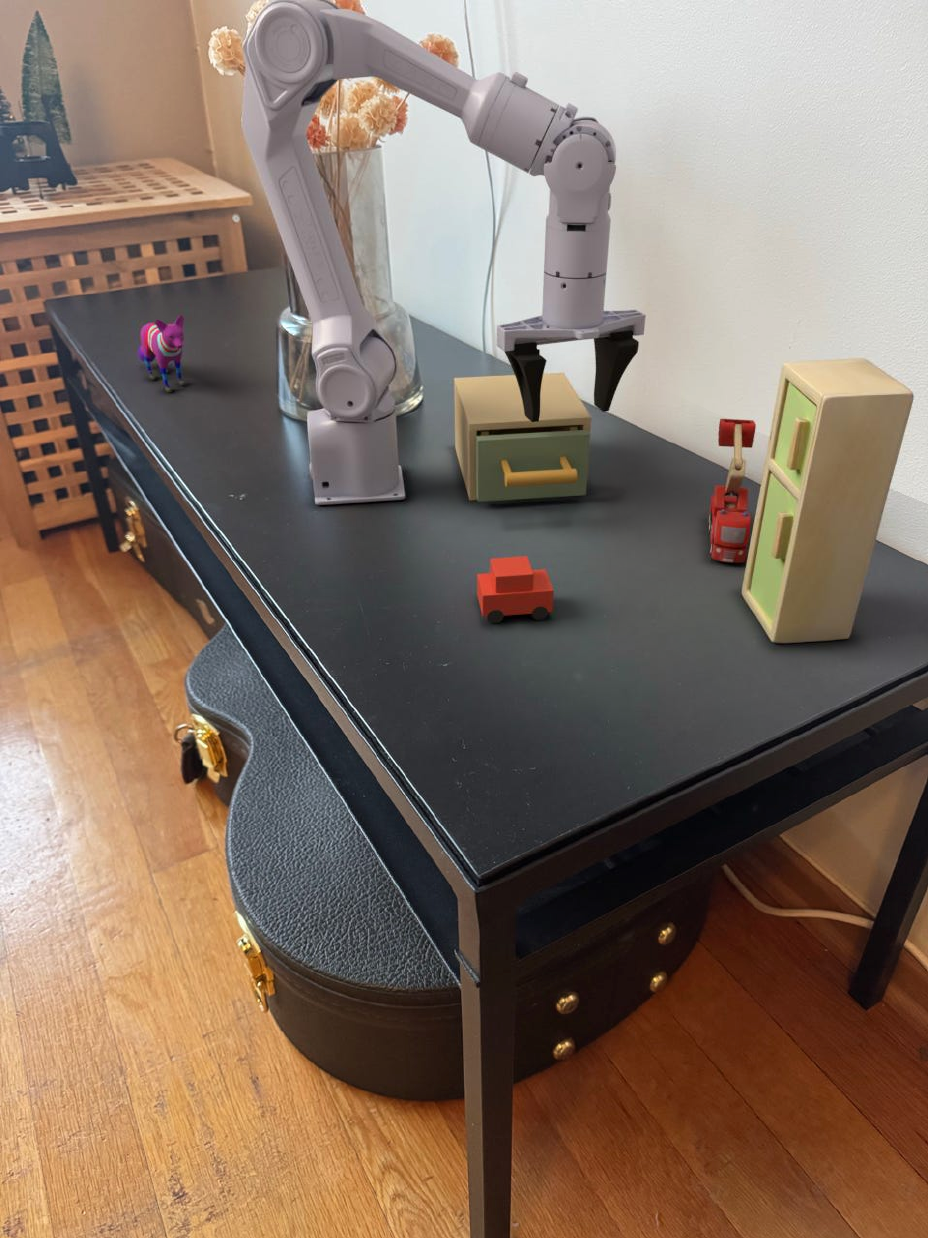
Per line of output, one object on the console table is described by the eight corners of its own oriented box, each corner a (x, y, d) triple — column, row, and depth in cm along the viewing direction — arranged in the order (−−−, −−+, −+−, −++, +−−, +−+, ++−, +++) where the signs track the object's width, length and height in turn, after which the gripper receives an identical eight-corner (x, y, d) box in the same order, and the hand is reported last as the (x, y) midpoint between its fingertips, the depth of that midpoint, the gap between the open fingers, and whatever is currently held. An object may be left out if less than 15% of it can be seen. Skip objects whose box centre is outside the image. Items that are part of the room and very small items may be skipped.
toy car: (482, 624, 77) (482, 579, 74) (477, 601, 80) (477, 557, 77) (552, 619, 77) (554, 574, 75) (544, 596, 80) (546, 552, 78)
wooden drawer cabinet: (586, 493, 97) (591, 417, 92) (469, 500, 96) (468, 423, 91) (560, 442, 108) (563, 372, 103) (455, 448, 107) (454, 377, 102)
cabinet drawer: (596, 516, 91) (601, 453, 87) (483, 523, 90) (484, 460, 86) (561, 447, 105) (564, 390, 101) (463, 452, 104) (462, 395, 100)
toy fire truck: (709, 565, 84) (725, 470, 79) (706, 499, 95) (720, 412, 90) (746, 568, 84) (764, 473, 78) (739, 502, 95) (755, 414, 89)
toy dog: (177, 402, 120) (162, 324, 114) (131, 366, 132) (115, 294, 126) (204, 396, 122) (190, 319, 116) (156, 361, 134) (141, 290, 128)
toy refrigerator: (730, 593, 80) (773, 360, 68) (810, 588, 81) (867, 356, 69) (762, 646, 74) (816, 398, 62) (849, 640, 74) (920, 393, 62)
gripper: (517, 289, 78) (514, 438, 85) (667, 274, 81) (651, 417, 89) (489, 270, 83) (488, 411, 91) (630, 256, 87) (618, 393, 95)
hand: (566, 413), depth 90 cm, fingers open, 7 cm apart
